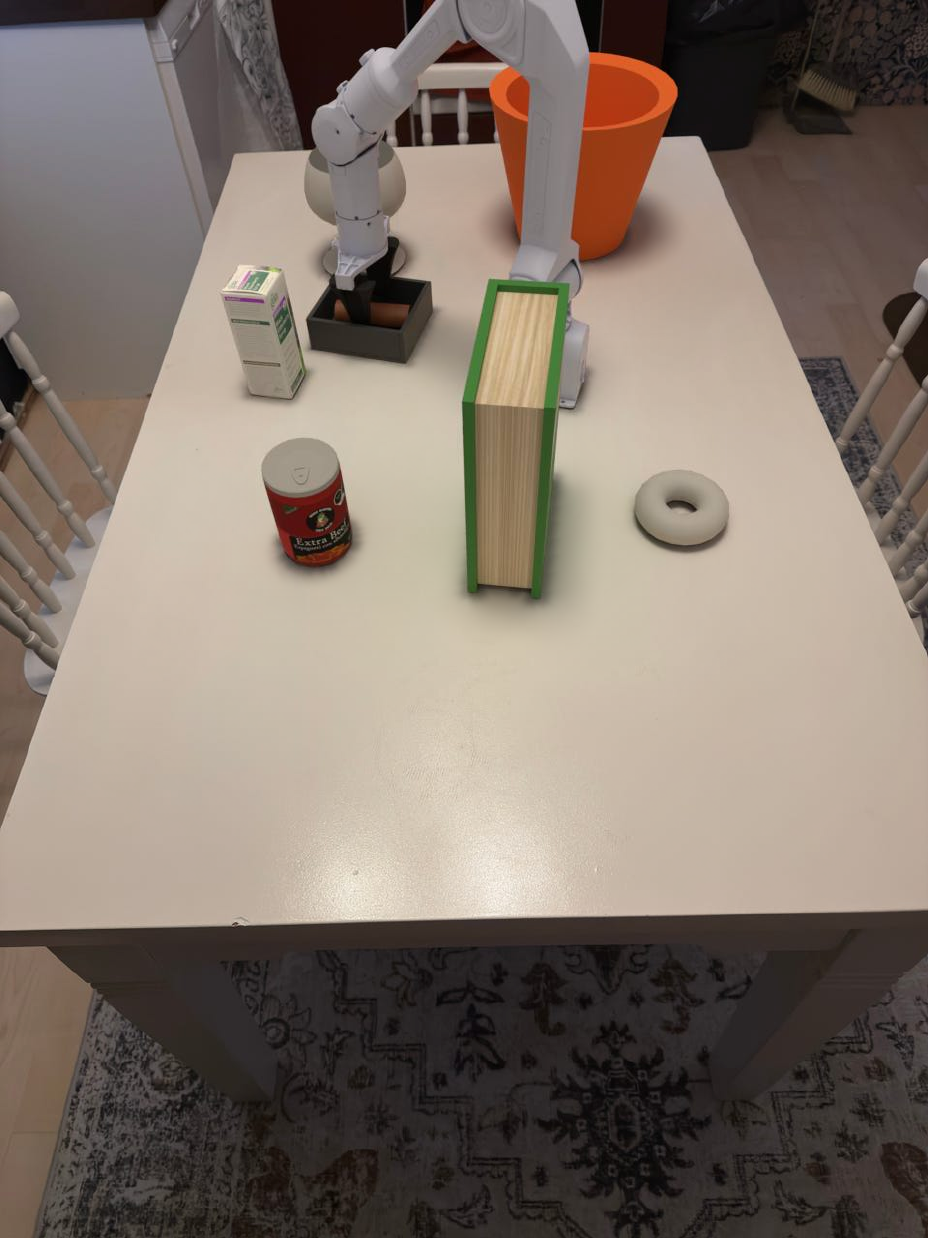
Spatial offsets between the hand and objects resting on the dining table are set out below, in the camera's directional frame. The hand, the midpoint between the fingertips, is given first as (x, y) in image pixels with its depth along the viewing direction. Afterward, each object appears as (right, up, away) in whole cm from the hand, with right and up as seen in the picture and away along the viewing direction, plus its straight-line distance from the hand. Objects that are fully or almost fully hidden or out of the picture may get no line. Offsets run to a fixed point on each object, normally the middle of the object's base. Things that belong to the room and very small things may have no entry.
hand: (371, 310), depth 111 cm
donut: (+36, -30, -20) cm, 51 cm away
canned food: (-3, -33, -21) cm, 39 cm away
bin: (0, -2, +2) cm, 3 cm away
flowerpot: (+29, +18, +17) cm, 38 cm away
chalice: (-2, +12, +13) cm, 18 cm away
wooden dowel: (0, -1, 0) cm, 2 cm away
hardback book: (+18, -32, -20) cm, 42 cm away
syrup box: (-11, -11, -4) cm, 16 cm away
